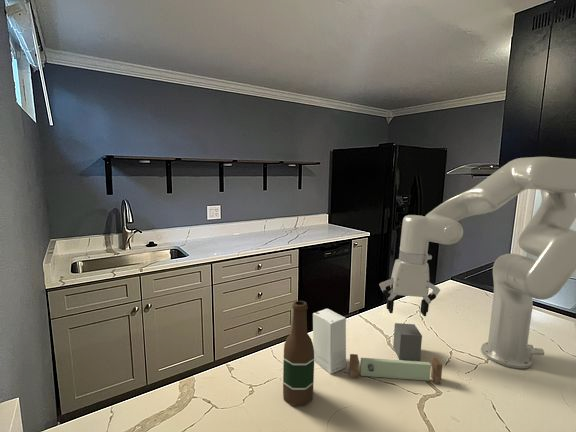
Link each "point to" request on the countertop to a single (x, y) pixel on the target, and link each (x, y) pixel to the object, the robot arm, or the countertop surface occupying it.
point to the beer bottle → (298, 360)
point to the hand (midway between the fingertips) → (406, 312)
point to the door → (395, 369)
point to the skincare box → (329, 340)
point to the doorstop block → (407, 342)
